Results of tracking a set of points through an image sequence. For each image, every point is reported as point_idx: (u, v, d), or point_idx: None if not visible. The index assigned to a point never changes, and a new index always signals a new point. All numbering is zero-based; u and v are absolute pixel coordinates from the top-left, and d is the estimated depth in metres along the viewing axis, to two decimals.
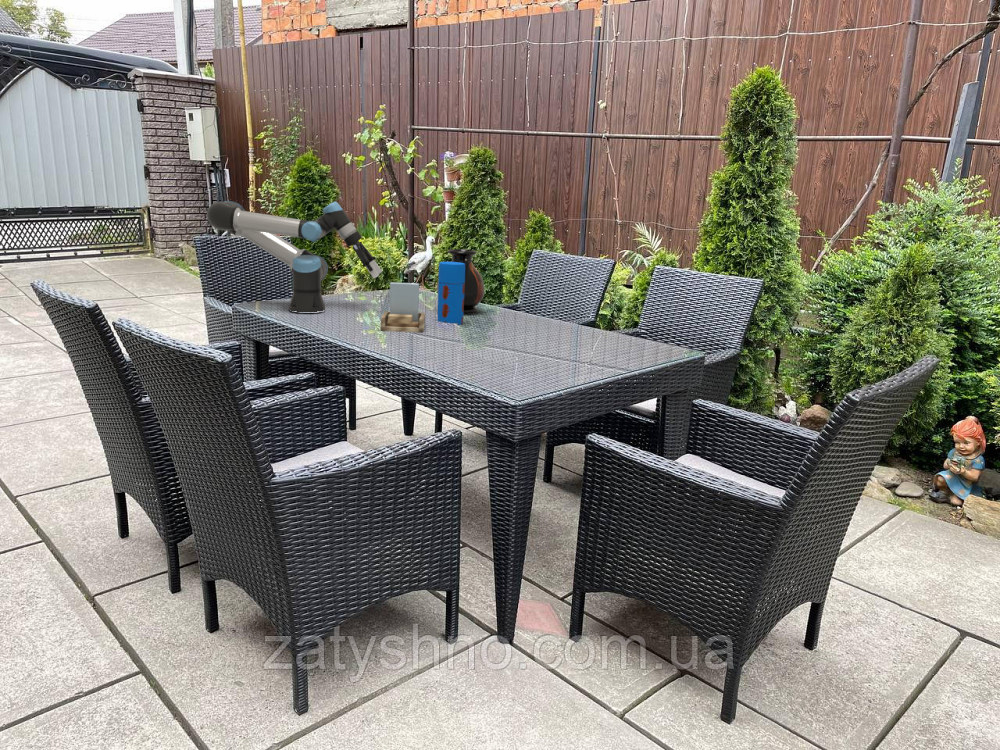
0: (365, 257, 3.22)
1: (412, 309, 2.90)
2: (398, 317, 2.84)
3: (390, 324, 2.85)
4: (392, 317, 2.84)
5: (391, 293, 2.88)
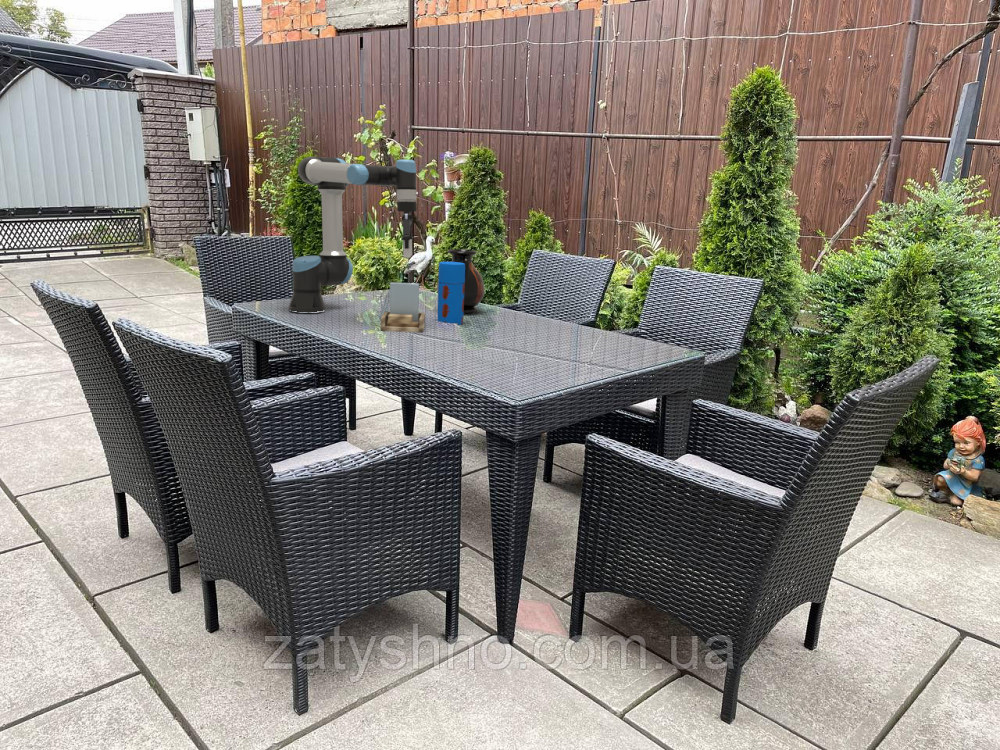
0: (409, 232, 2.82)
1: (412, 309, 2.90)
2: (398, 317, 2.84)
3: (390, 324, 2.85)
4: (392, 317, 2.84)
5: (391, 293, 2.88)
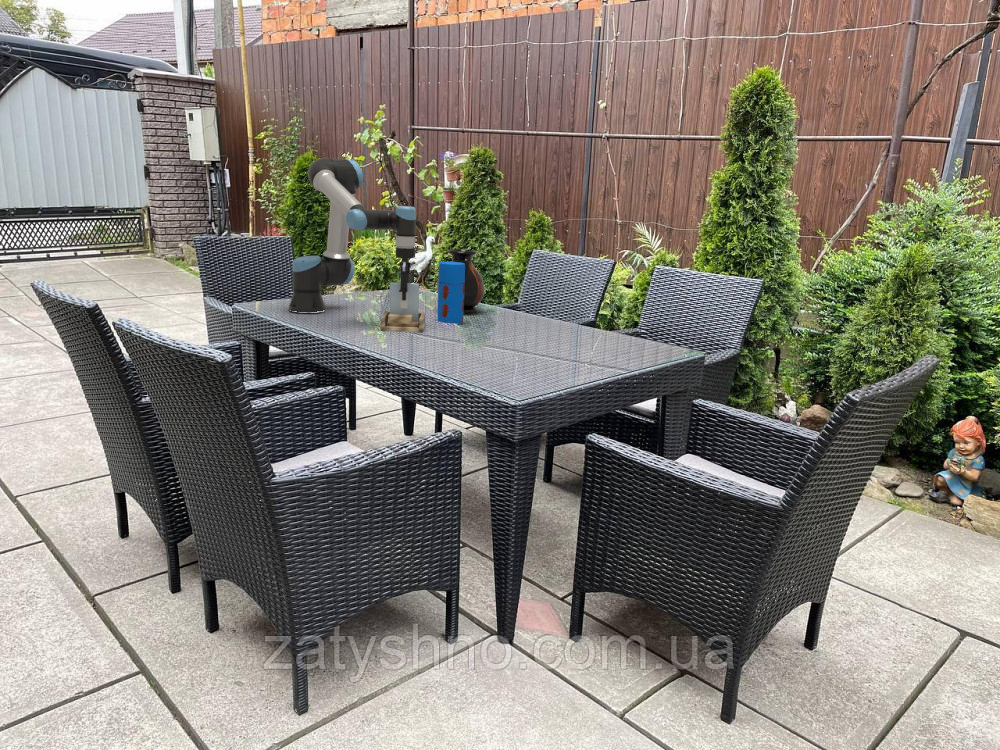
0: (407, 284, 2.85)
1: (412, 309, 2.90)
2: (398, 317, 2.84)
3: (390, 324, 2.85)
4: (392, 317, 2.84)
5: (391, 293, 2.88)
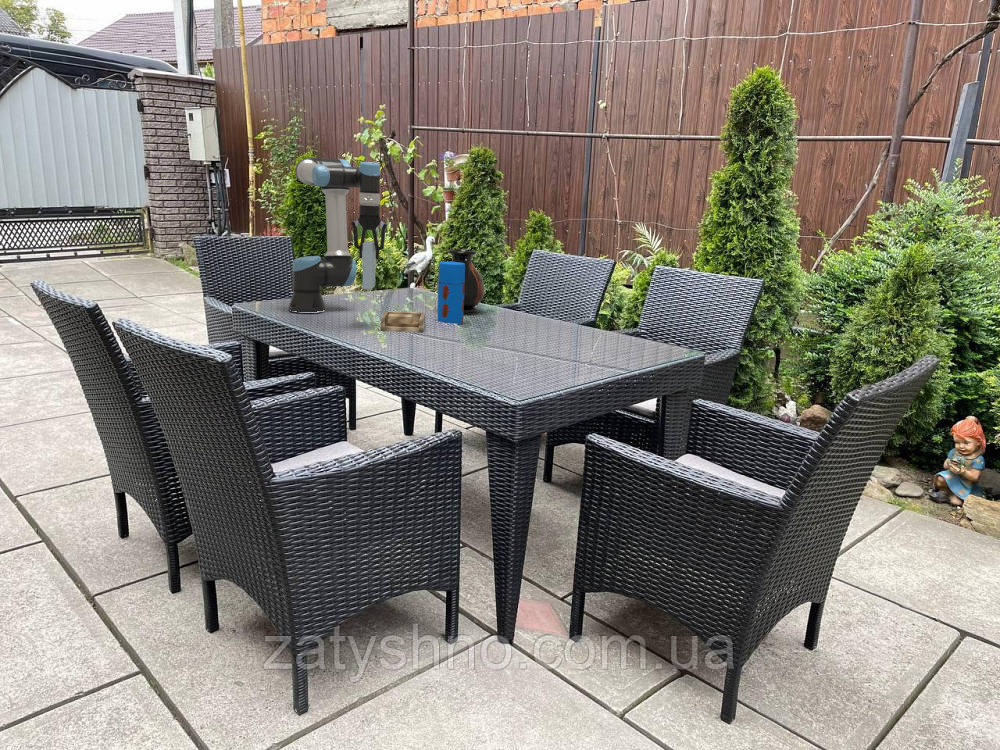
0: (356, 241, 2.81)
1: None
2: (398, 317, 2.84)
3: (390, 324, 2.85)
4: (392, 317, 2.84)
5: None
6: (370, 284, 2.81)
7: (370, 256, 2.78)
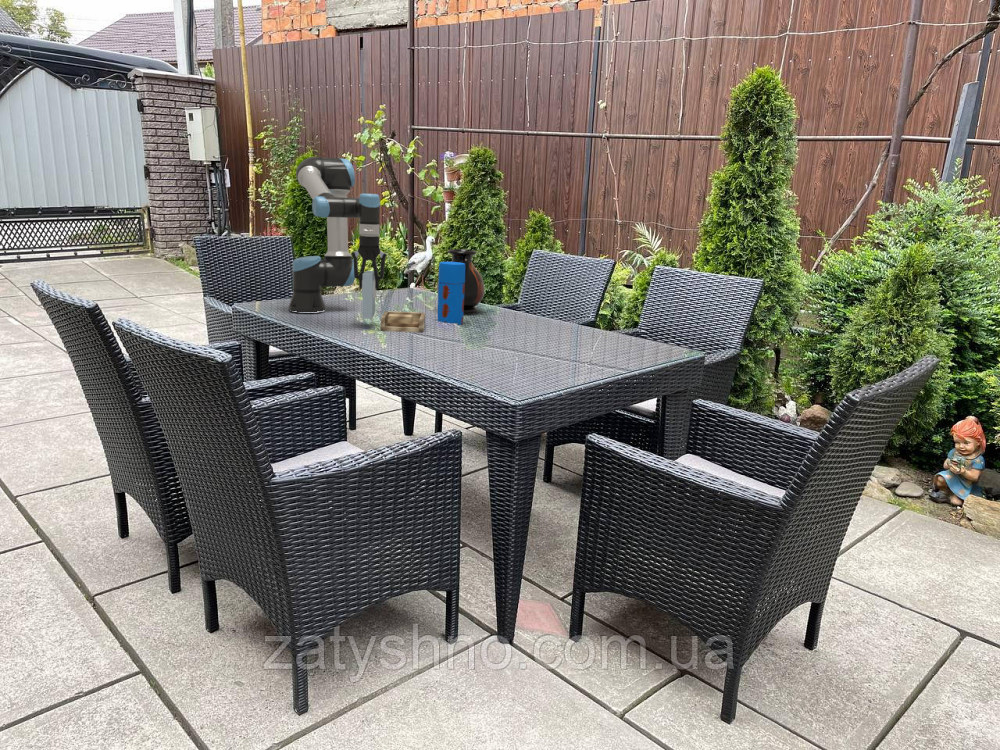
0: (356, 271, 2.83)
1: None
2: (398, 317, 2.84)
3: (390, 324, 2.85)
4: (392, 317, 2.84)
5: None
6: (370, 314, 2.83)
7: (370, 286, 2.81)
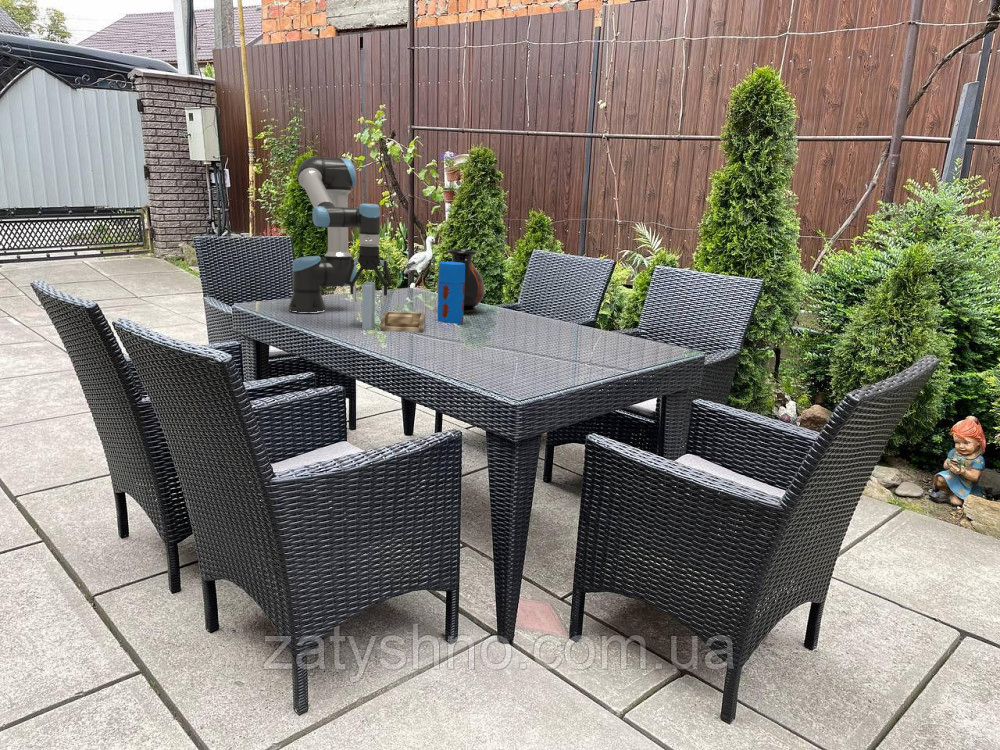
0: (349, 277, 2.84)
1: None
2: (398, 317, 2.84)
3: (390, 324, 2.85)
4: (392, 317, 2.84)
5: None
6: (370, 325, 2.85)
7: (370, 298, 2.82)
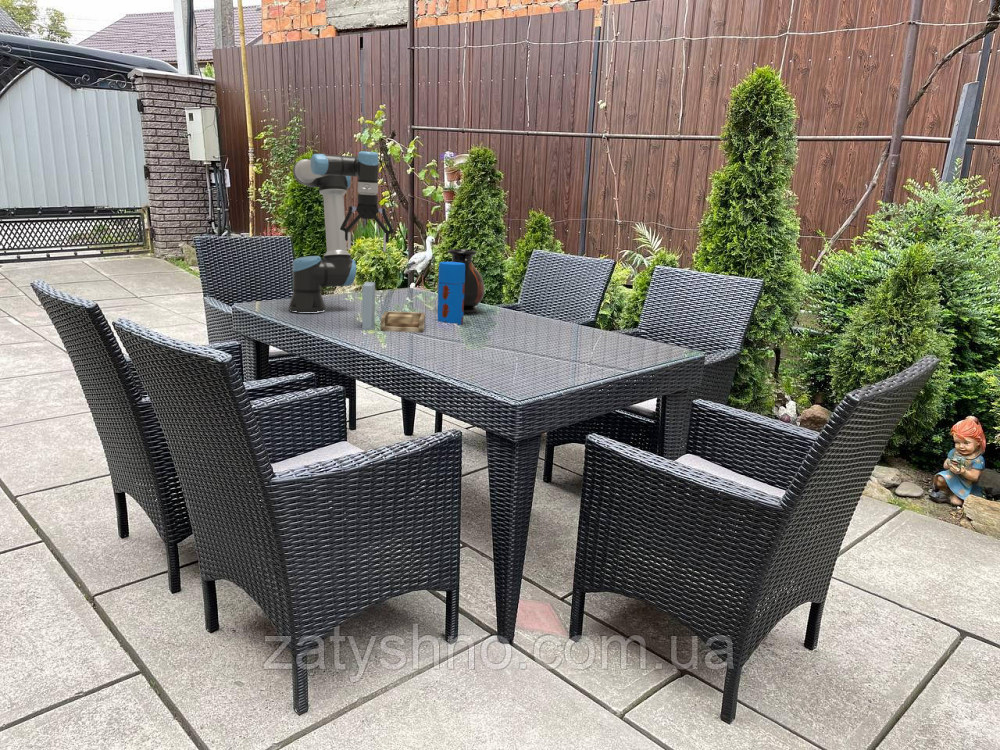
0: (344, 224, 2.83)
1: None
2: (398, 317, 2.84)
3: (390, 324, 2.85)
4: (392, 317, 2.84)
5: None
6: (370, 325, 2.85)
7: (370, 298, 2.82)
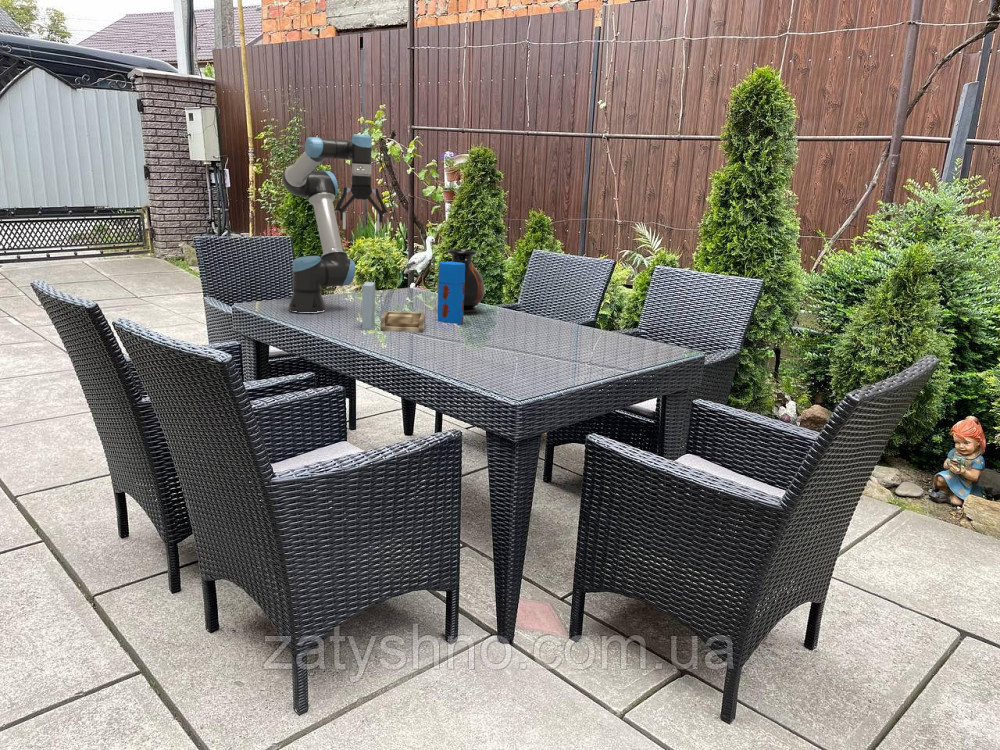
0: (339, 204, 2.95)
1: None
2: (398, 317, 2.84)
3: (390, 324, 2.85)
4: (392, 317, 2.84)
5: None
6: (370, 325, 2.85)
7: (370, 298, 2.82)
